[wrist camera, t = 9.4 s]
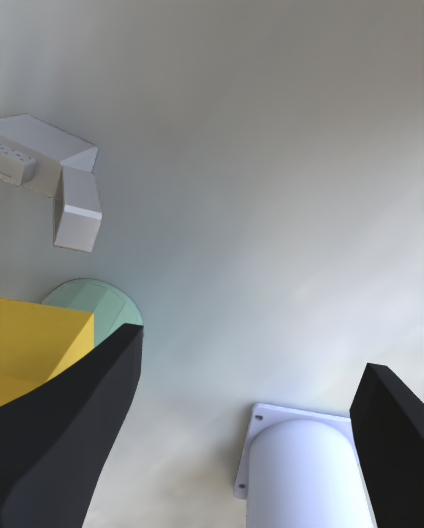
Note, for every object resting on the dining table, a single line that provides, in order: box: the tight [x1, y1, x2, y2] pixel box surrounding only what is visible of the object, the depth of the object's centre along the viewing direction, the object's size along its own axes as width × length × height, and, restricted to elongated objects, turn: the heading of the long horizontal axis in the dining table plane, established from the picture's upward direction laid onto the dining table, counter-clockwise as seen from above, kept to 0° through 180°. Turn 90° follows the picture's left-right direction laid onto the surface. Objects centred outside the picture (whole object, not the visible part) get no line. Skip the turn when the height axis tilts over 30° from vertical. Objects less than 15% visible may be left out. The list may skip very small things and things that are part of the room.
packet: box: [0, 298, 94, 406], centre depth 18 cm, size 10×5×5 cm, turn 173°
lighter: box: [0, 114, 103, 253], centre depth 17 cm, size 7×2×8 cm, turn 66°
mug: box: [40, 279, 144, 348], centre depth 23 cm, size 9×6×6 cm
